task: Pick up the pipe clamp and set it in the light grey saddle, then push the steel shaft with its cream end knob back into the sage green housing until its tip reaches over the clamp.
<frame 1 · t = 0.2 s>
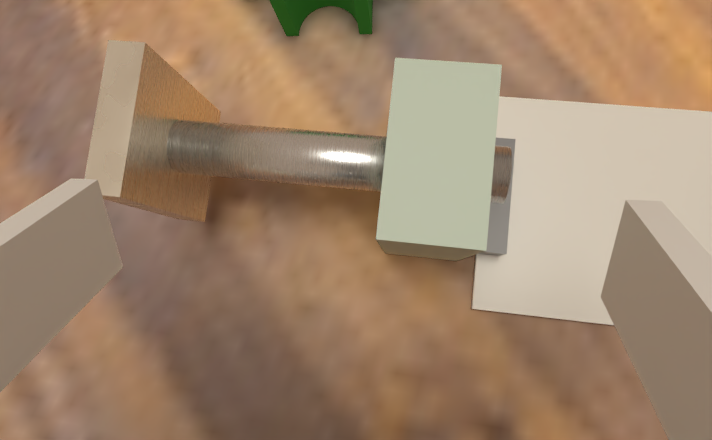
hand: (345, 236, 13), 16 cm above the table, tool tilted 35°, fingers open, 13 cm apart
pipe clamp: (329, 7, 31), on the table
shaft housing: (426, 195, 28), on the table
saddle: (629, 214, 27), on the table
shaft: (320, 158, 22), point 7 cm above the table, slide at 8.0 cm
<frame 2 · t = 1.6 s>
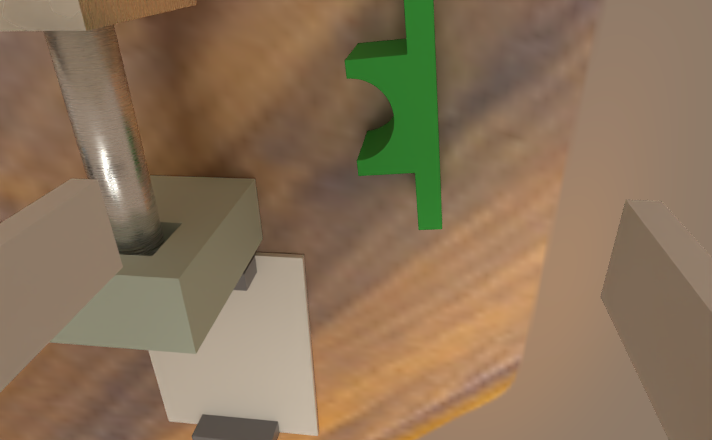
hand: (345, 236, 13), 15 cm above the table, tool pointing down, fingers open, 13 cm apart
pipe clamp: (402, 89, 26), on the table
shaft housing: (202, 207, 30), on the table
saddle: (229, 346, 35), on the table
shaft: (119, 177, 22), point 7 cm above the table, slide at 8.0 cm
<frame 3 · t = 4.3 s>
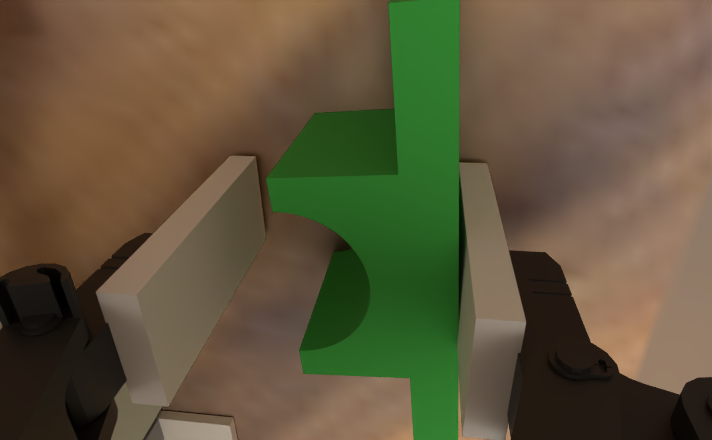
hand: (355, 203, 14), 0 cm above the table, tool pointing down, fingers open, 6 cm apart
pipe clamp: (393, 191, 15), on the table, touching gripper
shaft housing: (74, 349, 19), on the table
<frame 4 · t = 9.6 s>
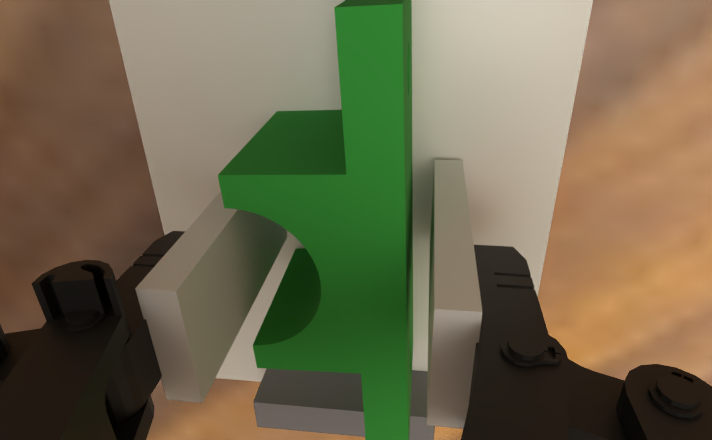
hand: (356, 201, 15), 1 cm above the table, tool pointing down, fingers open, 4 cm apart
pipe clamp: (354, 190, 15), resting on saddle
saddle: (346, 189, 15), on the table
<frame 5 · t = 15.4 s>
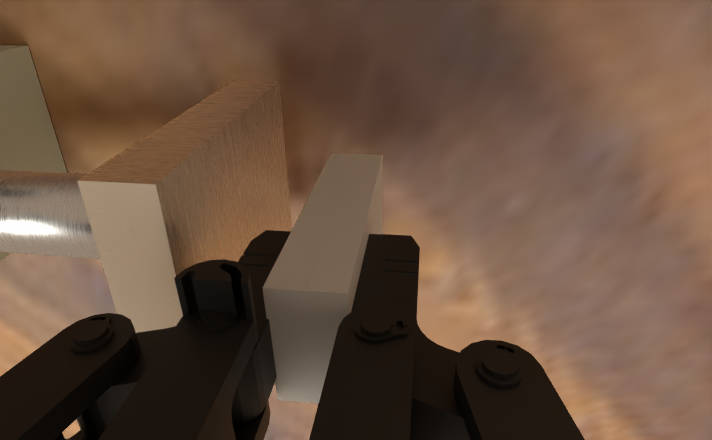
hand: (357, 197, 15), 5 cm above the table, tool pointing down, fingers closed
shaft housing: (12, 130, 21), on the table
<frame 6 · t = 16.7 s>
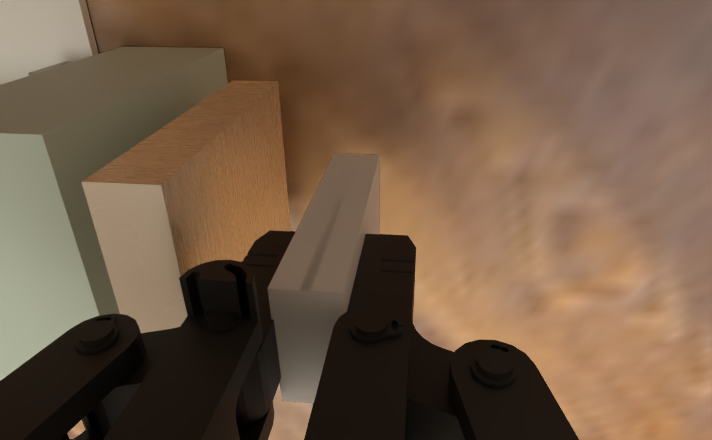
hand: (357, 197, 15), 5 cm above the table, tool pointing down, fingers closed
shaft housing: (187, 137, 20), on the table
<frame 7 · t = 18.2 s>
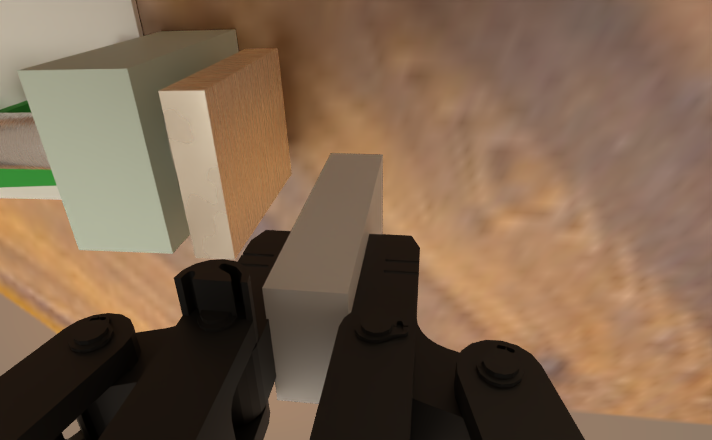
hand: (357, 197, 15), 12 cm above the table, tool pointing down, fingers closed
pipe clamp: (37, 127, 29), resting on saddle
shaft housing: (210, 99, 27), on the table
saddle: (26, 100, 28), on the table
shaft: (76, 141, 21), point 7 cm above the table, slide at 0.0 cm
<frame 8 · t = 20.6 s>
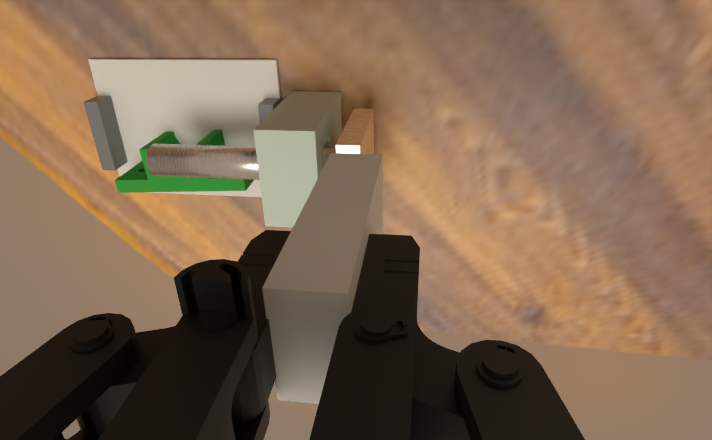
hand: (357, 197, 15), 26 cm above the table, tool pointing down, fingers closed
pipe clamp: (200, 151, 44), resting on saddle
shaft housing: (318, 133, 42), on the table
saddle: (194, 130, 43), on the table
shaft: (258, 163, 36), point 7 cm above the table, slide at 0.0 cm
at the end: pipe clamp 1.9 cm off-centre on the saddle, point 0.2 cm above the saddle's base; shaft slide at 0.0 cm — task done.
